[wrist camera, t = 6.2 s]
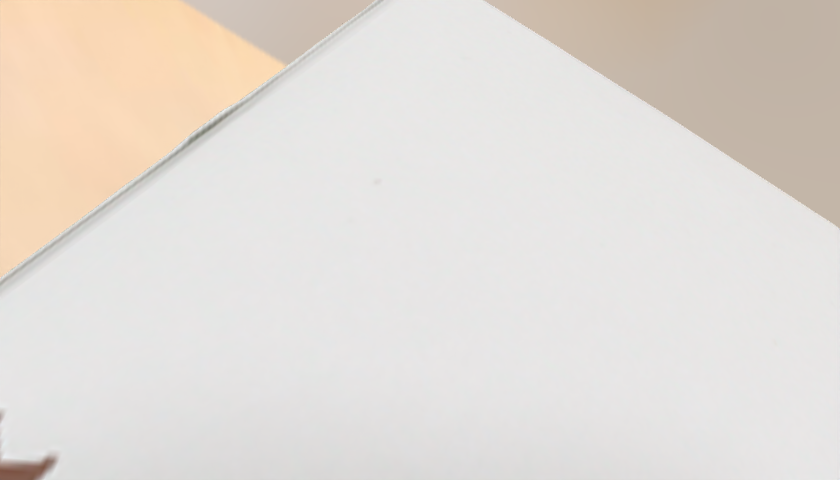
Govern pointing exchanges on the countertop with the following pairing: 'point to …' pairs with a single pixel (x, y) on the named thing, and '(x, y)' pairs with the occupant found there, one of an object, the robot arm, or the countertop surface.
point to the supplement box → (430, 286)
